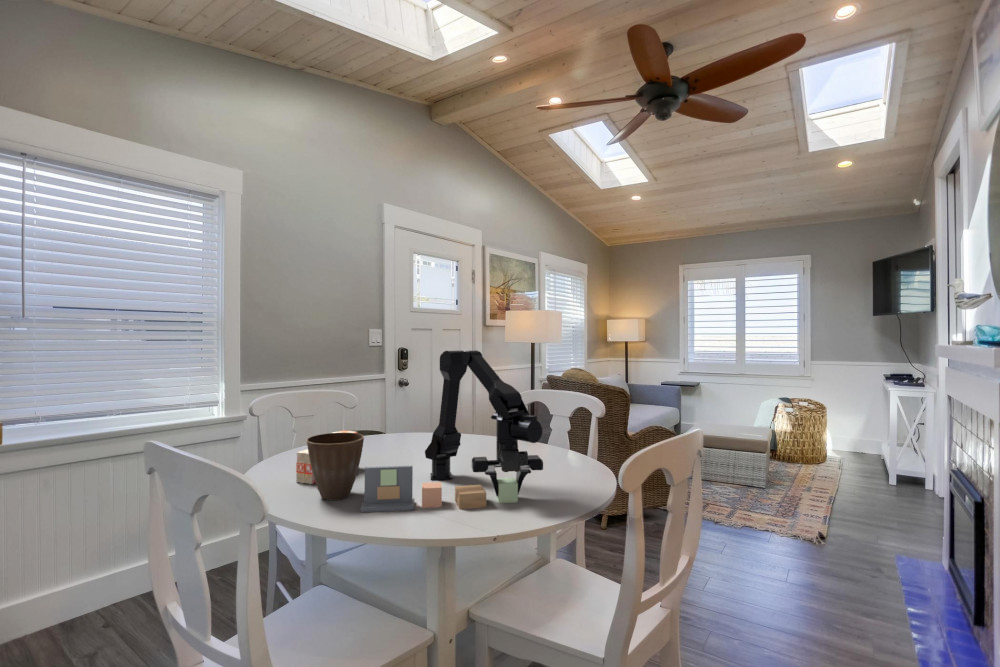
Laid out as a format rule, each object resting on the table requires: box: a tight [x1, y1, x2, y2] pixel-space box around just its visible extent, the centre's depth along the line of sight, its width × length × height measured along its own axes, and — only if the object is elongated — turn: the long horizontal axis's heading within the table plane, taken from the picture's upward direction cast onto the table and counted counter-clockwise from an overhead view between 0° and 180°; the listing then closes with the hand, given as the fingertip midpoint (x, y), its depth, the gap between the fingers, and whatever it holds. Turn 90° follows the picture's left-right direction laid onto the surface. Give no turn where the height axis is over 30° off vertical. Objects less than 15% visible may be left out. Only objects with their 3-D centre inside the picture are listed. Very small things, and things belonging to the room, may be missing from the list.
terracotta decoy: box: [421, 481, 443, 509], centre depth 132 cm, size 5×5×5 cm
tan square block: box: [454, 484, 487, 510], centre depth 133 cm, size 7×7×4 cm
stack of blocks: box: [295, 430, 358, 485], centre depth 160 cm, size 21×6×12 cm, turn 159°
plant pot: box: [306, 432, 365, 501], centre depth 139 cm, size 15×15×16 cm
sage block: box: [496, 477, 519, 504], centre depth 136 cm, size 5×5×5 cm
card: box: [360, 465, 416, 513], centre depth 130 cm, size 6×13×10 cm, turn 98°
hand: (507, 495), depth 136 cm, fingers closed on sage block, 5 cm apart
